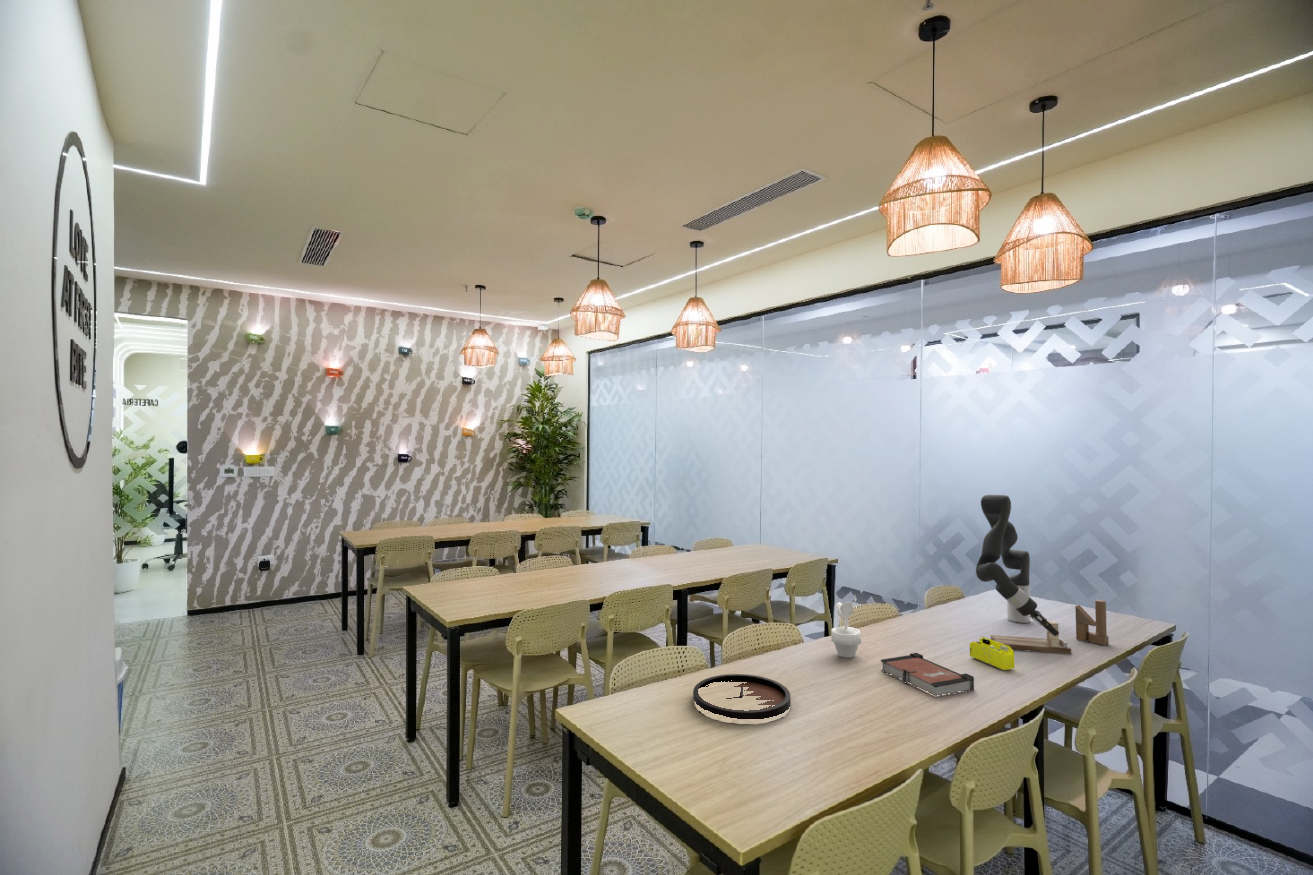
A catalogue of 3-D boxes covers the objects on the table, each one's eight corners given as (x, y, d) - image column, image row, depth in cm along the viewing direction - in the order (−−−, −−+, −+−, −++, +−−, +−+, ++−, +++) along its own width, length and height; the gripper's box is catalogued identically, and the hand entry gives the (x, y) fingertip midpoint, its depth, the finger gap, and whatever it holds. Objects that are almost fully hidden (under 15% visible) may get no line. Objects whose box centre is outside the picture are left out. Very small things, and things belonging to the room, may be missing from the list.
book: (879, 672, 225) (879, 658, 225) (916, 666, 231) (916, 652, 231) (933, 699, 201) (933, 684, 201) (974, 691, 207) (973, 676, 207)
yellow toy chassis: (1015, 670, 224) (1015, 647, 225) (1003, 672, 223) (1002, 649, 223) (981, 656, 240) (980, 635, 240) (969, 658, 238) (968, 636, 238)
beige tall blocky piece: (1045, 641, 251) (1044, 619, 251) (1053, 642, 250) (1053, 620, 250) (1051, 646, 244) (1050, 624, 244) (1060, 647, 243) (1059, 624, 243)
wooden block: (1079, 637, 261) (1078, 595, 262) (1109, 644, 252) (1107, 600, 252) (1075, 639, 259) (1074, 597, 260) (1105, 646, 250) (1104, 602, 250)
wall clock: (759, 722, 176) (673, 695, 196) (759, 736, 176) (674, 707, 196) (807, 688, 200) (726, 667, 220) (807, 700, 200) (726, 678, 220)
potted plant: (865, 660, 236) (864, 596, 237) (835, 660, 236) (834, 596, 237) (855, 649, 249) (854, 588, 249) (827, 650, 249) (826, 588, 250)
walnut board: (990, 639, 260) (990, 630, 260) (1060, 644, 253) (1060, 634, 253) (998, 648, 248) (998, 638, 248) (1071, 653, 241) (1071, 643, 241)
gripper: (1033, 599, 242) (1067, 630, 239) (1022, 591, 256) (1054, 620, 253) (1019, 612, 244) (1052, 643, 240) (1008, 603, 257) (1040, 632, 254)
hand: (1053, 631), depth 246 cm, fingers open, 8 cm apart
